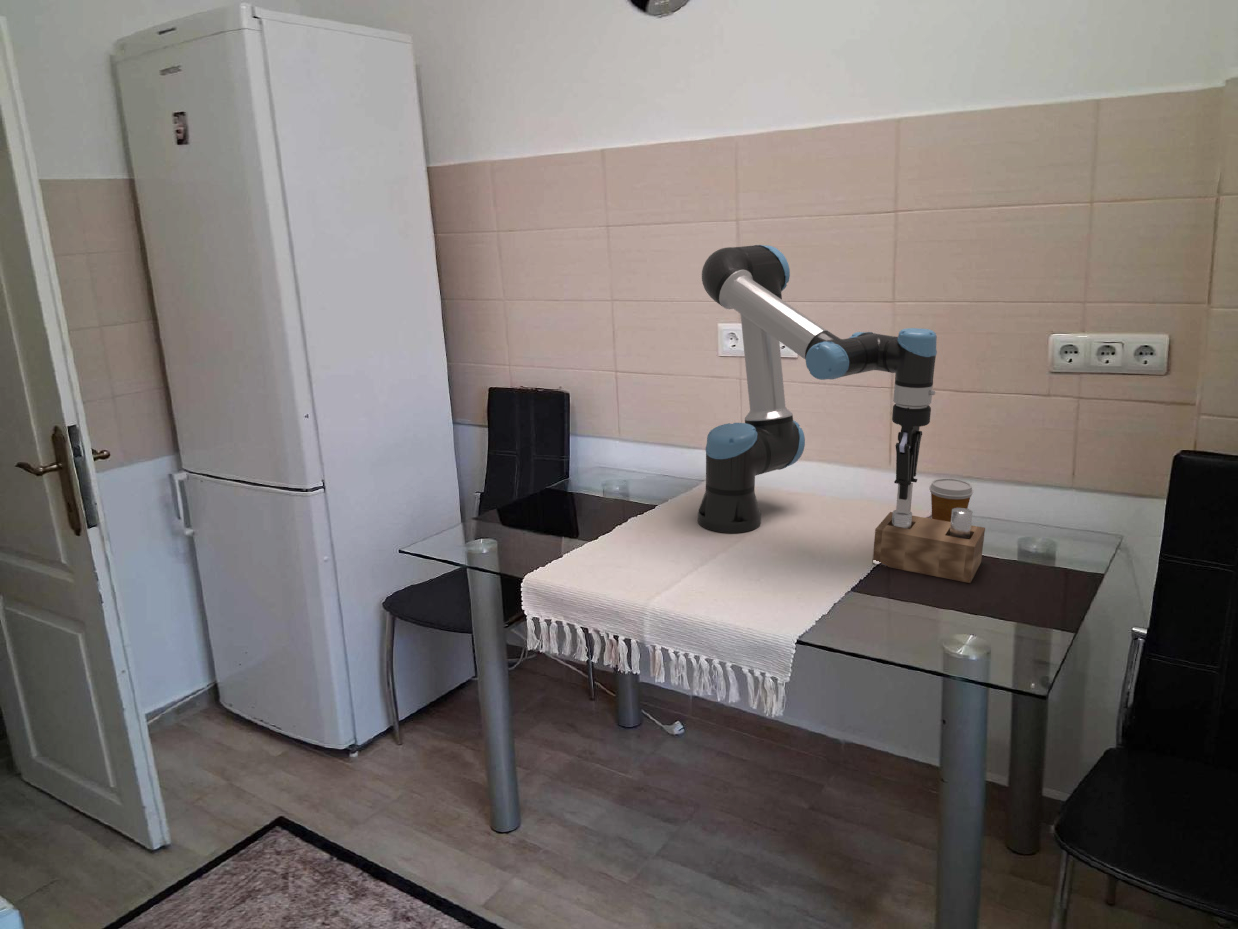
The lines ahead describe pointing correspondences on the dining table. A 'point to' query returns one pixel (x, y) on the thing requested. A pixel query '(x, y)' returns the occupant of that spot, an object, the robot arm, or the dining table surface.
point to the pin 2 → (961, 523)
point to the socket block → (929, 548)
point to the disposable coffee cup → (949, 497)
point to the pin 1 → (902, 520)
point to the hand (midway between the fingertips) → (903, 511)
